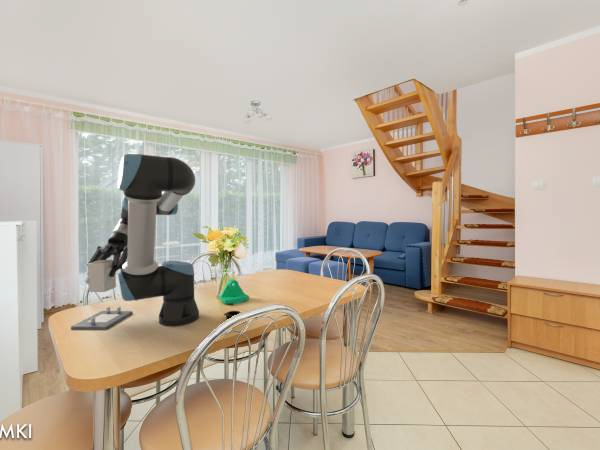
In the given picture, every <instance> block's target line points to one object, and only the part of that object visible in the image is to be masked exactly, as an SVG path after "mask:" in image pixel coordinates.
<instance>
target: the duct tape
mask: <svg viewBox="0 0 600 450" xmlns="http://www.w3.org/2000/svg"><path fill="white" fill-rule="evenodd" d="M239 313H241V314H242V312H241V311H239V310H230V311H227V312H225V313H224V314H223V316H225V321H226V320H227V319H229V318H231V317H232V316H234V315H237V314H239Z"/></svg>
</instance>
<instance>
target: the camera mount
mask: <svg viewBox="0 0 600 450" xmlns="http://www.w3.org/2000/svg"><path fill="white" fill-rule="evenodd" d="M219 300H220V301H221V302H222V303H224V304H232V305H237V304H242V303H243V301H248V300H250V296H249V295H248V294H246V293H245V292H244V290H243V289H242V288H241V286H240V284H239V282H238V281H237V280H235V279H233V278H231V279H229V280H228V282H226V285H225V286H224V287H223V290H222V292H221V294H220V295H219Z"/></svg>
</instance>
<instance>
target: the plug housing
mask: <svg viewBox="0 0 600 450" xmlns="http://www.w3.org/2000/svg"><path fill="white" fill-rule="evenodd" d="M87 264H88V266H87V268H88V269H87V274H88V275H87V276H88V277H89V285H88V292H89V293H105V292H108V291H110V290H112V289H113V290H114V289H115V288H117V281H116V280H117V278H116V275H117V273H115V275H114V276H113V277H111V279H110V281H109V283H108V285H105V284H104V283H103V282H102V281H103V279H104V277H105V275H106V273H107V271H108V269H109V268H110V267H112V266H111V265H112V264H113V259H106V260H99V261H95V262H91V263H89V262H88V263H87ZM112 268H113V267H112Z"/></svg>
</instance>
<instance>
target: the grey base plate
mask: <svg viewBox="0 0 600 450" xmlns="http://www.w3.org/2000/svg"><path fill="white" fill-rule="evenodd" d="M132 314H133V310H122V309H121V306H117V307H116V310H111V306H107V307H105V310H101V311H99V312H98V313H95V314H93V315H92V316H90V317H88V318H84V319H83V320H82V321H80V322H77V323H75V324H73V325H71V327H70V329H71V330H100V331H101V330H103V331H104V330H105V331H106V330H108V329H109V328H111V327H112V326H115V325H116V324H117V323H119V322H121V321H123V320H124V319H126V318H127V317H129V316H131V315H132Z"/></svg>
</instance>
